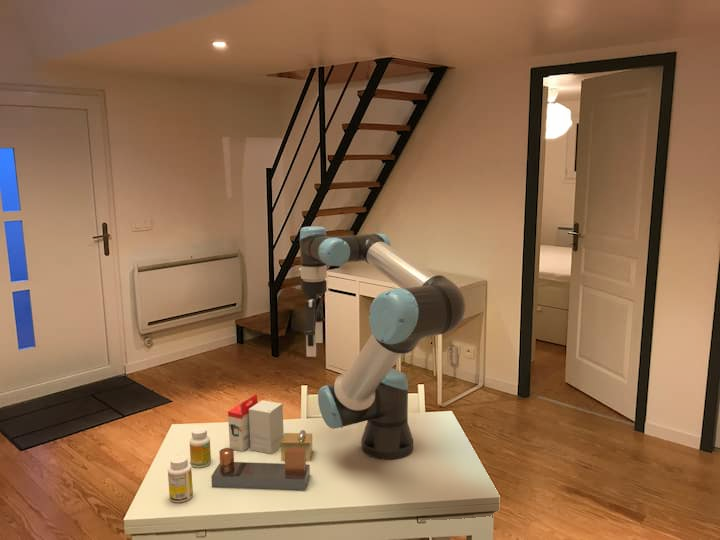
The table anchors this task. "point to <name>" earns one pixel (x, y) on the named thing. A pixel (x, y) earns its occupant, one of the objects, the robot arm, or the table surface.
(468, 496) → the table surface
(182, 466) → the supplement bottle
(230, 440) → the ink box
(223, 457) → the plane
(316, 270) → the robot arm
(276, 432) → the supplement box
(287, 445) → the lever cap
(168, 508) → the table surface
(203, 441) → the supplement bottle
